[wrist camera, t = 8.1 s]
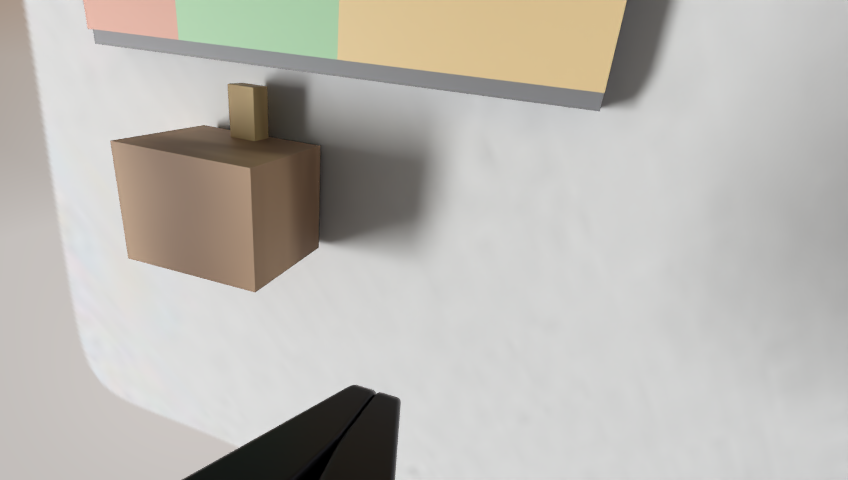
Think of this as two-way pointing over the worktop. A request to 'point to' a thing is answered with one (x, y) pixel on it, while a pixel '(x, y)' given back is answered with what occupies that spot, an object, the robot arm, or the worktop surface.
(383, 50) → the tuner gauge
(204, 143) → the block
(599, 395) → the worktop surface
